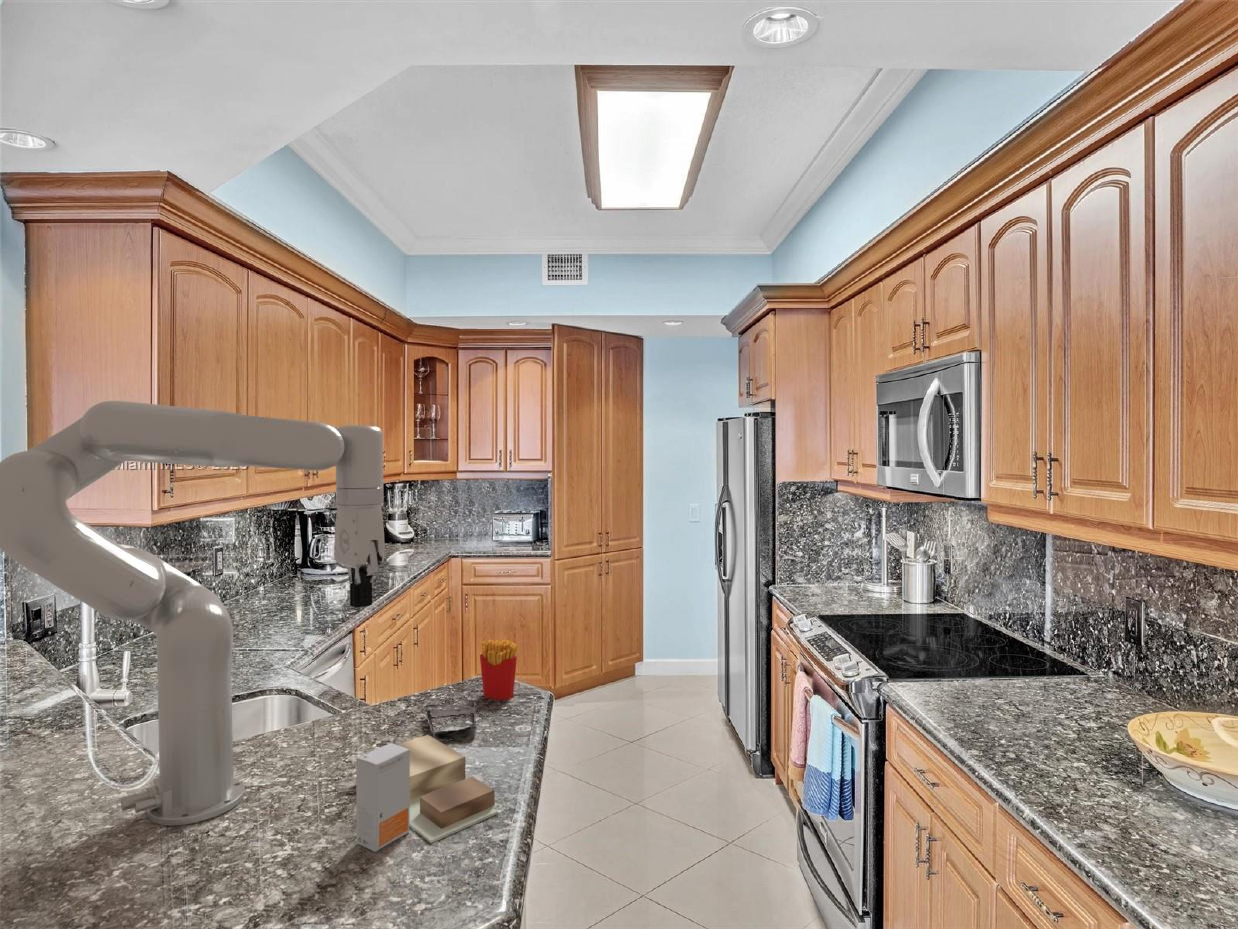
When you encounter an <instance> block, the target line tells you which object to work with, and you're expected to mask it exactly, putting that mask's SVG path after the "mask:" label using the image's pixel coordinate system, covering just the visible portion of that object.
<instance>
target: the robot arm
mask: <svg viewBox="0 0 1238 929" xmlns="http://www.w3.org/2000/svg"><path fill="white" fill-rule="evenodd" d="M383 436H384V435H383V431H382V429H381V428H380V427H378V426H375V425H365V424H364V425H363V424H362V425H360V424H359V425H357V424H354V425H352V424H351V425H350V424H349V425H342V426H340V427H339V426H338V427H337V426H332V425H331V424H328V423H324V422H320V421H309V420H299V419H298V420H296V419H287V418H285V419H284V418H278V417H267V416H265V417H264V416H257V415H247V414H242V413H237V412H230V411H224V410H223V411H222V410H217V409H216V410H214V409H205V408H194V407H183V406H176V405H175V406H174V405H173V406H172V405H166V404H165V405H164V404H156V403H155V404H153V403H144V402H135V401H126V400H125V401H123V400H108V401H102V402H98V403H96V404H94V405H93V406H91V407H89V408H88V410H87V411H86V412H85V413H84V414H83V416H82V417H80V418H79V419H78V420H76V421H74V422H73V423H71V424H70V425H68V426H66V427H65V428H63V429H62V430H60V431H58V432H57V433H55V434H53V435H51V436H50V437H49V438H46V439H45V440H43V441H41V442H39V443H38V444H37V445H35V446H33V447H31V448H29V449H28V450H24V451H23V450H22V451H20V452H17V453H16V452H15V453H13V454H11V455H9V456H7V457H5V458H4V459H1V461H0V550H1V551H2V552H3V553H4V554H5V555H6V556H7V557H9V558H10V559H11V560H13V561H15V562H16V563H18V564H19V565H21V566H22V567H24V568H26V569H27V570H28V571H30V572H32V573H34V574H35V575H37V576H39V577H41V578H43V579H44V580H45V581H47V582H49V583H50V584H52V585H53V586H55V587H57V588H58V589H60V590H62V591H64V592H65V593H67V594H68V595H70V596H72V597H73V598H75V599H77V600H79V601H80V602H82V603H83V604H85V605H87V606H89V607H90V608H91V609H93V610H94V611H96V612H98V613H99V614H100V615H102V616H104V617H106V618H108V619H112V620H117V621H133V622H134V623H136V624H138V625H140V626H141V627H142V628H143V627H144V628H145V629H147V630H149V631H150V632H152V633H154V634H155V635H156V636H155V638H156V641H155V642H156V657H157V658H156V659H157V660H156V664H157V666H156V668H157V675H156V676H157V715H158V755H159V756H158V758H159V768H158V769H159V777H158V778H155V779H153V785H152V786H149V787H147V788H146V790H145V791H141V792H138V793H136V792H135V793H131V794H130V795H125V796H122V797H120V808H121V812H124V811H125V812H126V811H128V810H132V809H134V812H135V814H137V813H141V812H144V811H147V818H148V819H149V820H150V821H151V822H152V823H155V824H158V825H161V826H182V825H183V826H184V825H190V824H197V823H200V822H202V821H207V820H209V819H213V818H216V817H218V816H221V815H222V814H225V813H226V812H229V811H230V810H231V809H233V808H235V807H236V806H237V805H238V804H240V802H241V801H242V800H243V799H244V797H245V794H246V790H245V789H246V788H245V784H244V783H243V782H242V781H241V780H239V779H236V778H234V750H233V749H234V748H233V747H234V746H233V742H234V741H233V740H234V739H233V737H234V736H233V696H232V693H233V692H232V661H233V660H232V659H233V646H234V645H233V644H234V643H233V642H234V629H233V623H232V618H231V616H230V613H229V611H228V610H227V608H226V606H225V605H224V603H223V601H222V600H221V599H220V598H219V597H218V595H217V594H216V593H215V592H213V591H212V590H210V589H209V588H207V587H206V586H204V585H202V583H200V582H198V581H196V580H195V579H193V578H191V577H190V576H188V575H187V574H185V573H184V572H182V571H181V570H179V569H177V568H176V567H174V566H173V565H171V564H169V563H167V562H166V561H164V560H163V559H162V558H160V557H158V556H156V555H155V554H153V553H151V552H149V551H147V550H144V549H141V548H135V547H125V546H122V545H121V544H119V543H118V542H115V541H114V540H113V539H110V537H108V536H106V535H105V534H104V533H103V534H102V532H100V531H99V530H97V529H96V528H94V527H93V526H91V525H89V524H88V523H85V522H84V521H82V520H81V519H79V518H78V517H76V516H75V515H74V514H73V513H72V512H71V511H70V510H69V507H68V506H67V501H68V500H70V499H71V498H72V497H73V496H75V495H77V494H78V493H79V492H81V491H82V490H84V489H85V488H87V487H88V486H90V485H92V484H93V483H94V482H96V481H98V480H99V479H101V478H102V477H104V476H105V475H107V474H109V473H110V472H112V471H113V470H115V469H116V468H118V467H119V466H121V465H122V464H124V463H125V462H135V463H136V462H138V463H152V464H153V463H157V464H168V465H169V464H173V465H185V466H186V465H188V466H201V467H202V466H203V467H219V468H229V467H231V468H233V467H256V468H270V469H271V468H272V469H273V468H275V469H289V470H302V471H303V470H304V471H316V472H318V471H320V472H321V471H326V470H329V469H331V468H333V467H335V496H336V497H335V498H336V500H335V501H336V505H335V506H336V508H337V509H336V515H335V522H334V524H335V526H334V542H333V543H334V545H333V546H334V548H333V550H334V551H333V557H334V558H333V559H334V561H335V562H336V563H338V564H339V565H342V566H343V567H345V569H346V570H347V571H348V572H347V574H348V582H349V605H350V607H353V608H355V609H357V608H362V607H363V608H364V607H368V606H369V607H370V606H372V605H373V583H374V577H375V575H378V574H379V566H381V565H383V563H384V561H385V532H384V520H383V512H382V511H383V510H382V507H384V437H383Z"/></svg>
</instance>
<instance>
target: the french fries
mask: <svg viewBox="0 0 1238 929" xmlns="http://www.w3.org/2000/svg"><path fill="white" fill-rule="evenodd" d="M481 648H482V649H481V650H482V653H481V654H479V659H480V670H481V679H482V680H481V681H482V691H483V692H482V693H483V694H482V695H483V697H485V698H487V699H491V698H494V699H493V700H497V699H498V700H499V701H506V700H510V699H511V698H513V697H514V693H515V692H514V690H515V679H516V669H517V668H516V667H517V658H518V657H517V655H516V654H517V649H518V644H517V643H515V642H513V641H511V640H509V639H507V640H506V639H504V638H503V639H502V640H498V639H496V640H495V639H488V641H486V640H483V641H482V642H481Z"/></svg>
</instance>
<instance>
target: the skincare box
mask: <svg viewBox="0 0 1238 929" xmlns="http://www.w3.org/2000/svg"><path fill="white" fill-rule="evenodd" d="M355 762H356V766H355V767H356V768H355V770H356V771H355V772H356V773H355V781H356V782H355V784H356V785H355V786H356V788H355V789H356V790H355V791H356V792H355V798H356V800H355V803H356V804H355V809H356V810H355V812H356V814H355V815H356V816H355V817H356V818H355V839H356V840H355V843H356V844H357V845H359V846H361V847H364V848H366V849H368V850H370V851H373V852H374V853H377V852H378V851H379V850H381V849H383V848H385V847H386V846H388V845H390V844H392V843H393V842H394V841H397V840H398V839H400V838H401V837H403V836H405V835H407V834H409V833H410V826H409V820H410V749H407V748H404V747H401V746H398V744H395V743H392V742H390V743H388V744H385V745H383V746H381V747H378V748H375V749H373V750H371V751H369V752H367V753H365V754H363V755H360V756H358V757H357V758H356V760H355Z"/></svg>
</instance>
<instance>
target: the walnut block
mask: <svg viewBox="0 0 1238 929" xmlns="http://www.w3.org/2000/svg"><path fill="white" fill-rule="evenodd" d="M495 795H496V794H495V789H493V788H492V787H491V786H489V785H488V784H486V783H484V782H482V781H481V780H480V779H478V778H475V777H474V776H470V777H467V778H466V779H464V780H462V781H459V782H457V783H454V784H451V785H449V786H446V787H444V788H441V789H439V790H436V791H434V792H431V793H428V794H426V795H423V796H421V797H420V813H421V814H422V815H423V816H425V817H426V818H427V819H429V820H430V821H431V822H433V823H434V824H435V825H437V826H438V827H439V828H441V829H442V828H445V827H447V826H449V825H451V824H454V823H456V822H458V821H461V820H463V819H465V818H467V817H470V816H472V815H474V814H477V813H479V812H481V811H484V810H486V809H488V808H490V807H492V808H494V807H495V806H496V805H495V802H496V800H495Z"/></svg>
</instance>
